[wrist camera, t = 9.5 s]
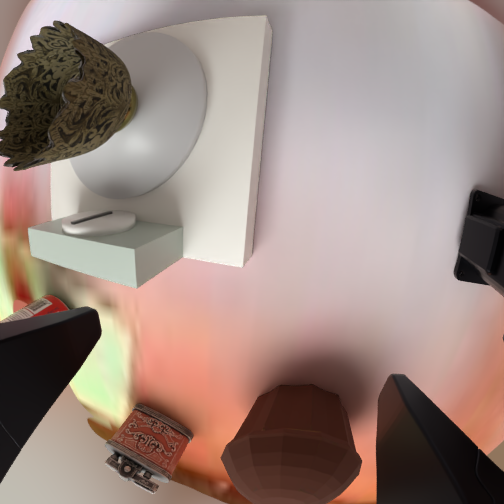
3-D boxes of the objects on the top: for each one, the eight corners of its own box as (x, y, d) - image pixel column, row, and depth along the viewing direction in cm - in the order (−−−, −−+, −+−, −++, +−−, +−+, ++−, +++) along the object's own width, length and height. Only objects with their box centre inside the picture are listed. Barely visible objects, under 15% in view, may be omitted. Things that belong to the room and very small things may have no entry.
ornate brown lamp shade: (88, 74, 14) (5, 57, 7) (171, 45, 13) (86, -6, 5) (83, 168, 17) (-9, 180, 9) (167, 156, 15) (60, 157, 7)
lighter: (134, 412, 29) (95, 463, 19) (136, 399, 27) (92, 454, 18) (190, 442, 28) (158, 501, 18) (195, 431, 27) (161, 495, 17)
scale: (272, 31, 14) (245, -33, 7) (251, 255, 19) (212, 306, 12) (81, 65, 17) (22, 51, 10) (70, 226, 22) (9, 247, 15)
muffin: (230, 371, 22) (186, 461, 13) (361, 366, 20) (372, 470, 10) (253, 445, 25) (229, 516, 16) (353, 444, 22) (351, 522, 13)
